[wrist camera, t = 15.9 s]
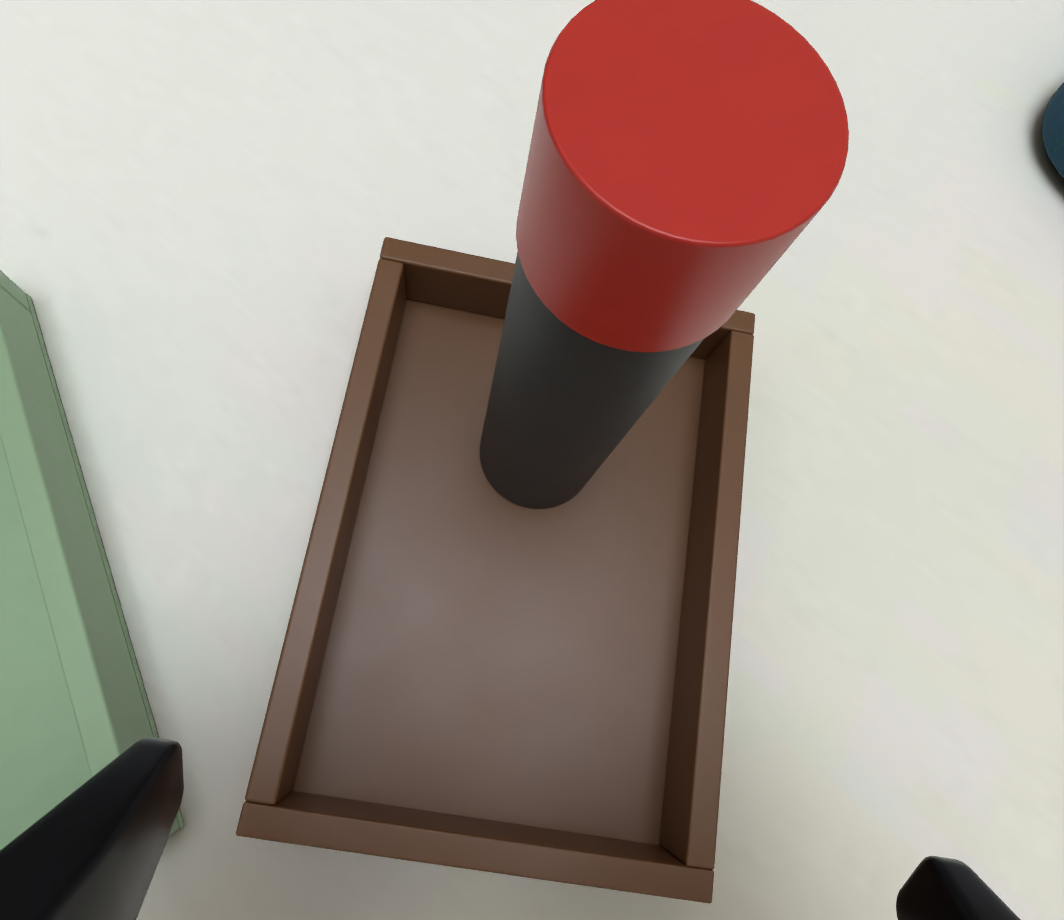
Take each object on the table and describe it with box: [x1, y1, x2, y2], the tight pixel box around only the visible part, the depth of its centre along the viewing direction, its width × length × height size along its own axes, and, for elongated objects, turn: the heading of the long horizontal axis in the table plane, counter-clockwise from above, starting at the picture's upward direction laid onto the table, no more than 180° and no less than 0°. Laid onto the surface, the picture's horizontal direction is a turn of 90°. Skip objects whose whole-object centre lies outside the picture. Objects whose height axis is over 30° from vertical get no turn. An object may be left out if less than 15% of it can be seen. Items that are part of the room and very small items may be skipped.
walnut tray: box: [236, 237, 755, 903], centre depth 20 cm, size 15×11×2 cm
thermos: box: [480, 0, 849, 509], centre depth 15 cm, size 4×4×14 cm
